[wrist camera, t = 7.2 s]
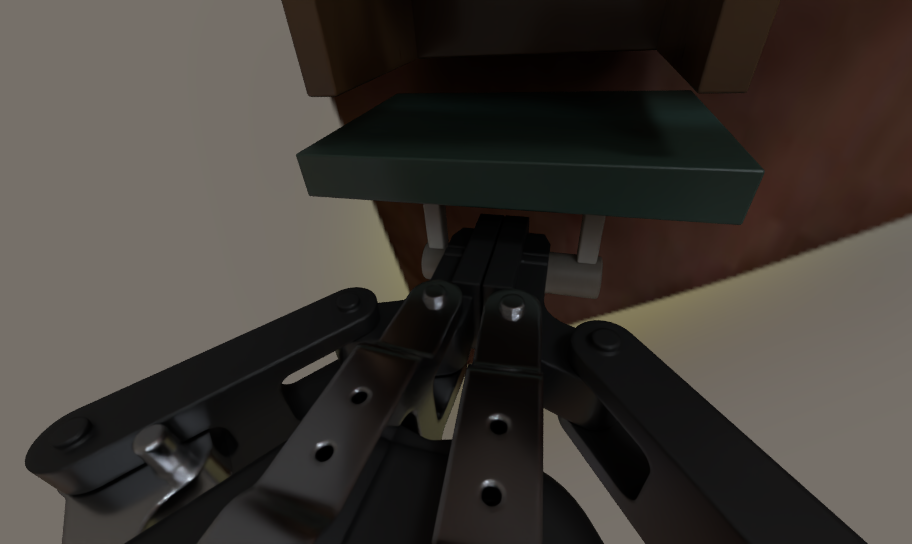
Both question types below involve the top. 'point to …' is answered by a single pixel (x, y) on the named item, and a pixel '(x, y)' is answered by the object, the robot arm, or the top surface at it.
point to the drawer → (535, 115)
